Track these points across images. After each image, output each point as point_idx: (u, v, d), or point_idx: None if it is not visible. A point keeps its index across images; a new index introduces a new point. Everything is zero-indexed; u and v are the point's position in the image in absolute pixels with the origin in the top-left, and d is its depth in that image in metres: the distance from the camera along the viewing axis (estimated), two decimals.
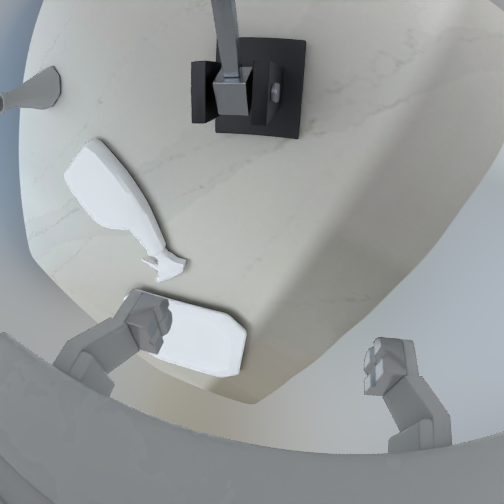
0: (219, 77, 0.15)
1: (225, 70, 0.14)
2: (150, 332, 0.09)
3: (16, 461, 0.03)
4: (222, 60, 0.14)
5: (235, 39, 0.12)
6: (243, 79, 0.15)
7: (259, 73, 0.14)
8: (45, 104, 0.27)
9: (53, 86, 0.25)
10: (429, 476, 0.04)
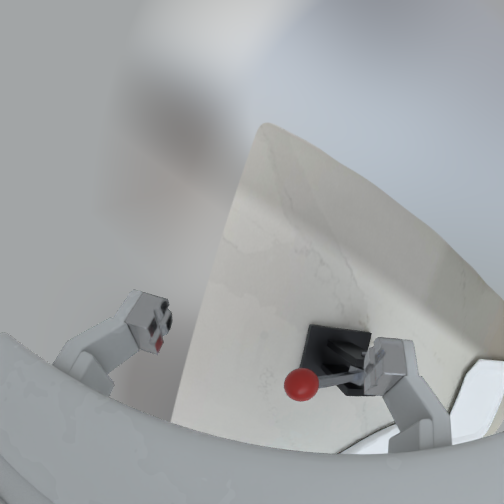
0: (356, 382, 0.30)
1: (354, 379, 0.29)
2: (150, 332, 0.09)
3: (16, 461, 0.03)
4: (351, 381, 0.29)
5: (345, 375, 0.28)
6: (360, 371, 0.30)
7: (361, 364, 0.29)
8: None
9: None
10: (429, 476, 0.04)
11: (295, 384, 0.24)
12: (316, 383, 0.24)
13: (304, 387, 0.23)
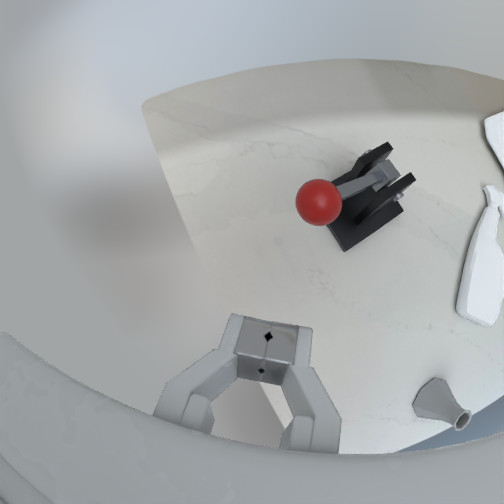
0: (384, 181, 0.24)
1: (379, 178, 0.24)
2: (263, 361, 0.08)
3: (16, 461, 0.03)
4: (376, 181, 0.24)
5: (362, 176, 0.23)
6: (376, 167, 0.24)
7: (368, 158, 0.24)
8: (447, 386, 0.29)
9: (431, 387, 0.30)
10: (429, 476, 0.04)
11: (306, 198, 0.19)
12: (327, 182, 0.19)
13: (317, 192, 0.19)
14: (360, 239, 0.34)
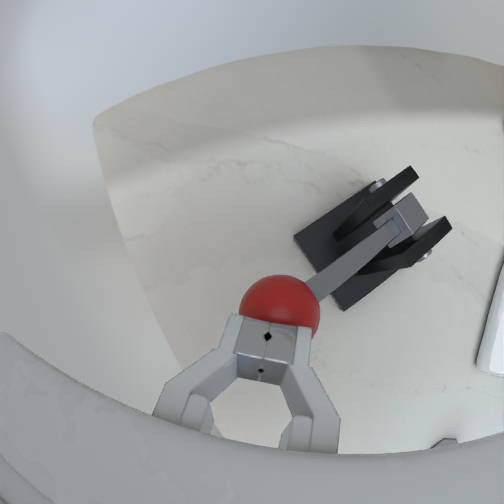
0: (402, 235, 0.15)
1: (395, 232, 0.15)
2: (262, 360, 0.08)
3: (16, 461, 0.03)
4: (390, 239, 0.15)
5: (366, 237, 0.14)
6: (391, 212, 0.15)
7: (380, 197, 0.15)
8: None
9: None
10: (429, 476, 0.04)
11: None
12: (290, 290, 0.11)
13: (266, 316, 0.10)
14: (363, 294, 0.25)
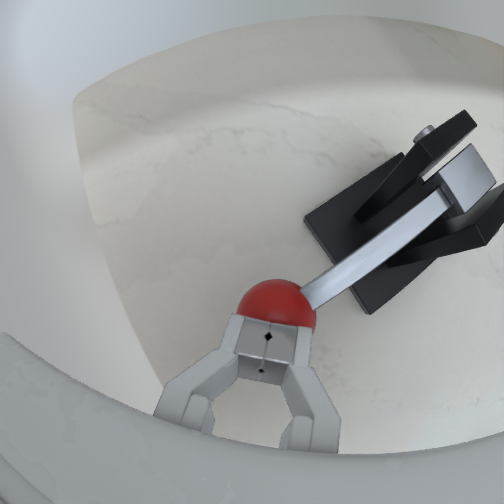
0: (454, 210, 0.10)
1: (441, 208, 0.10)
2: (263, 360, 0.08)
3: (16, 461, 0.03)
4: (431, 220, 0.10)
5: (394, 221, 0.10)
6: (437, 179, 0.10)
7: (438, 143, 0.08)
8: None
9: None
10: (429, 476, 0.04)
11: None
12: (265, 308, 0.11)
13: None
14: (394, 292, 0.19)
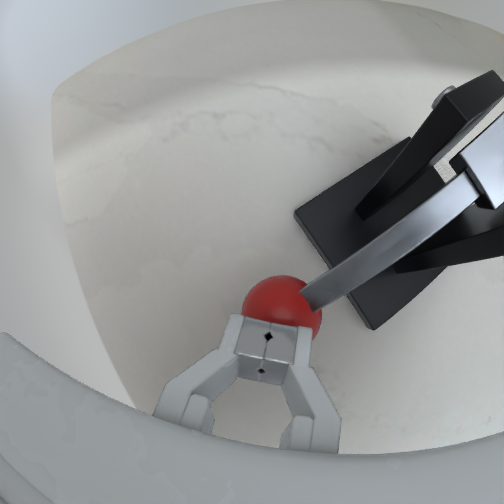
0: (484, 202, 0.06)
1: (466, 199, 0.07)
2: (263, 361, 0.08)
3: (16, 461, 0.03)
4: (451, 215, 0.07)
5: (403, 217, 0.08)
6: (460, 161, 0.06)
7: (470, 101, 0.05)
8: None
9: None
10: (429, 476, 0.04)
11: None
12: (259, 312, 0.11)
13: None
14: (403, 303, 0.15)
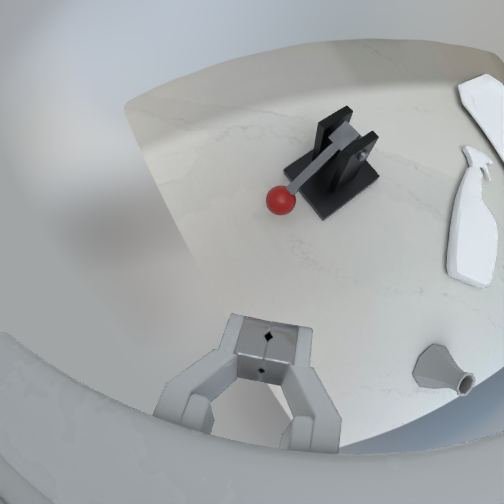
0: (341, 150, 0.27)
1: (334, 150, 0.27)
2: (263, 361, 0.08)
3: (16, 461, 0.03)
4: (329, 156, 0.28)
5: (315, 159, 0.29)
6: (330, 139, 0.27)
7: (327, 122, 0.25)
8: (447, 352, 0.30)
9: (430, 353, 0.31)
10: (429, 476, 0.04)
11: (267, 206, 0.33)
12: (272, 194, 0.31)
13: (267, 204, 0.32)
14: (337, 206, 0.35)
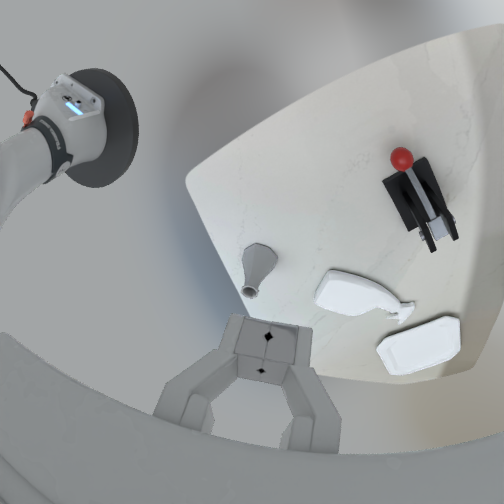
0: (429, 221, 0.32)
1: (430, 216, 0.32)
2: (263, 360, 0.08)
3: (16, 461, 0.03)
4: (427, 211, 0.32)
5: (427, 198, 0.32)
6: (438, 216, 0.31)
7: (450, 221, 0.29)
8: (271, 270, 0.55)
9: (271, 256, 0.54)
10: (429, 476, 0.04)
11: (398, 147, 0.33)
12: (407, 157, 0.31)
13: (400, 150, 0.32)
14: (391, 195, 0.41)
